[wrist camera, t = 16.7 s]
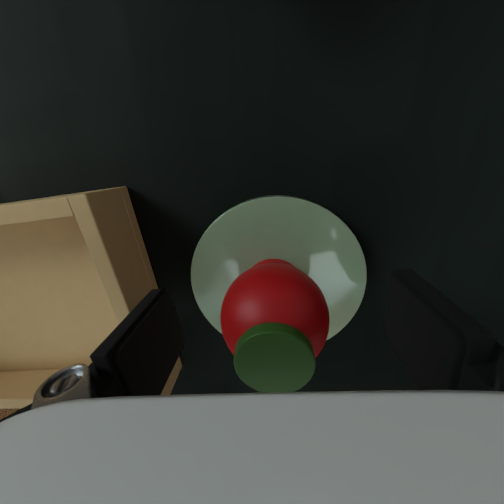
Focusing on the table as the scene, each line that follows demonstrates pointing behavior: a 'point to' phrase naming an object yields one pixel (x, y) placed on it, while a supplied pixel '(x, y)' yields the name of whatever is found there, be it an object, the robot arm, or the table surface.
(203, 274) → the coaster
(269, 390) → the strawberry
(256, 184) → the table surface
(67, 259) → the tray
